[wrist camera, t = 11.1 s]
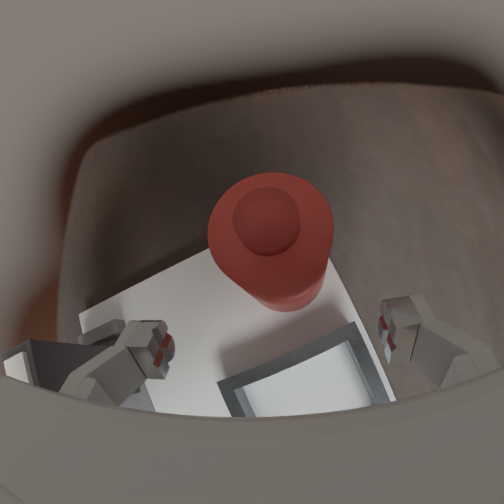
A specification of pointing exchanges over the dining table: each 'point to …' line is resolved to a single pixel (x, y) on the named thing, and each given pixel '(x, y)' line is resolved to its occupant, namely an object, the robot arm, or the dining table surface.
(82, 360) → the switch knob
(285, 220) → the lockout cap
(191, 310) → the panel
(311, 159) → the dining table surface
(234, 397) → the socket
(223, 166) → the dining table surface
